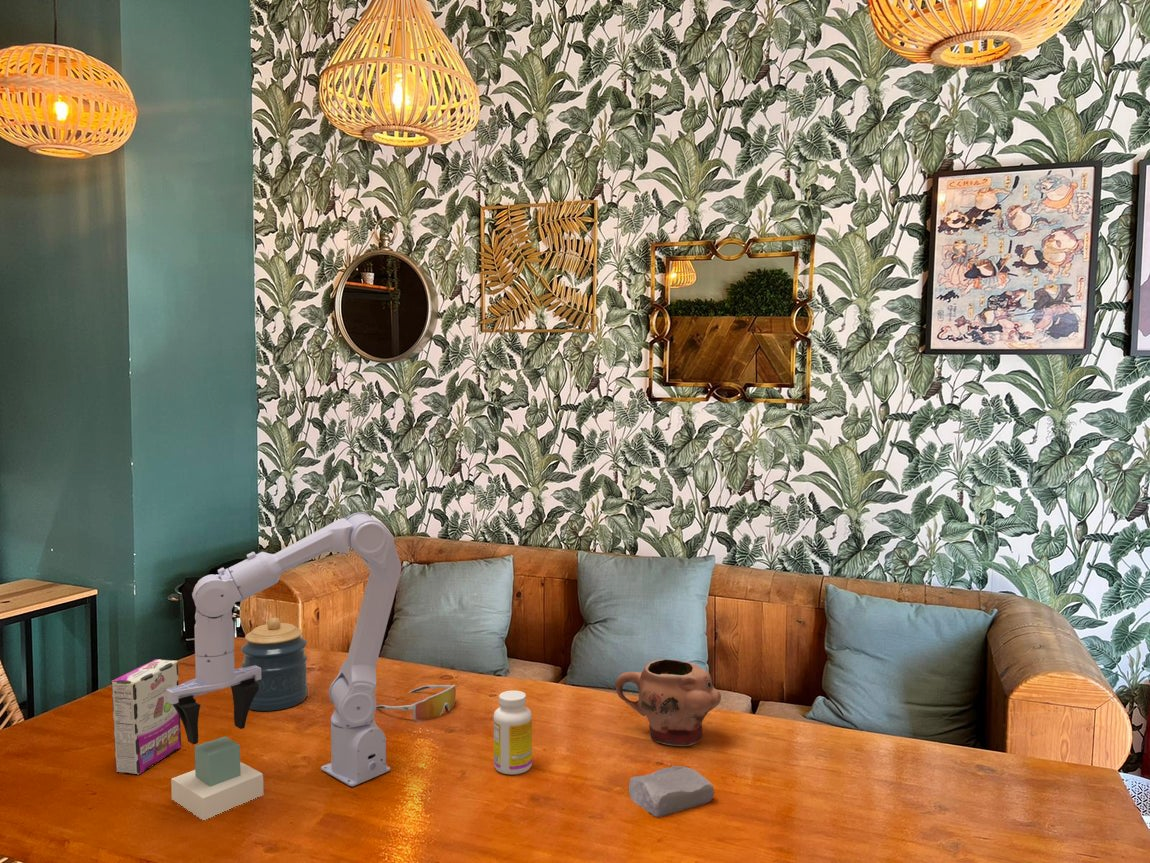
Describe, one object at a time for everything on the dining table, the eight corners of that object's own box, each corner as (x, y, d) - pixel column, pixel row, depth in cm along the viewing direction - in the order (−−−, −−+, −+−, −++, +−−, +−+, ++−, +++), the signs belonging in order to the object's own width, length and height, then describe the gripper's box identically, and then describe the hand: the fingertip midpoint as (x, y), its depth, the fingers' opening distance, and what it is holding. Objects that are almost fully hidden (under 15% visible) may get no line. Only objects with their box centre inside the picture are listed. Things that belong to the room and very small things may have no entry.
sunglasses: (424, 727, 161) (421, 702, 161) (369, 721, 168) (366, 697, 169) (470, 704, 173) (467, 680, 173) (416, 699, 180) (414, 676, 181)
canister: (262, 687, 181) (260, 608, 180) (318, 690, 179) (317, 610, 178) (229, 710, 168) (227, 625, 167) (289, 714, 166) (288, 628, 165)
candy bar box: (158, 745, 152) (155, 658, 151) (182, 747, 151) (180, 659, 150) (112, 773, 141) (109, 679, 140) (138, 776, 140) (135, 681, 139)
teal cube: (240, 775, 133) (239, 745, 133) (209, 786, 129) (209, 755, 129) (225, 765, 136) (225, 736, 136) (195, 776, 133) (194, 746, 132)
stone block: (623, 805, 135) (656, 821, 126) (621, 774, 136) (654, 788, 127) (682, 791, 141) (719, 805, 132) (680, 761, 141) (716, 774, 133)
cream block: (263, 797, 134) (263, 773, 134) (203, 823, 126) (203, 798, 126) (230, 779, 140) (230, 756, 140) (171, 802, 132) (171, 778, 132)
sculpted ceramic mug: (610, 746, 152) (610, 672, 151) (618, 720, 164) (618, 651, 163) (720, 755, 149) (721, 680, 148) (720, 727, 161) (721, 657, 160)
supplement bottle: (538, 763, 146) (538, 691, 145) (520, 779, 140) (520, 705, 139) (505, 755, 148) (505, 685, 148) (486, 771, 142) (486, 698, 142)
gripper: (246, 635, 140) (247, 714, 141) (157, 656, 129) (159, 741, 130) (267, 644, 135) (268, 725, 136) (176, 667, 124) (179, 755, 125)
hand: (216, 734), depth 133 cm, fingers open, 7 cm apart
